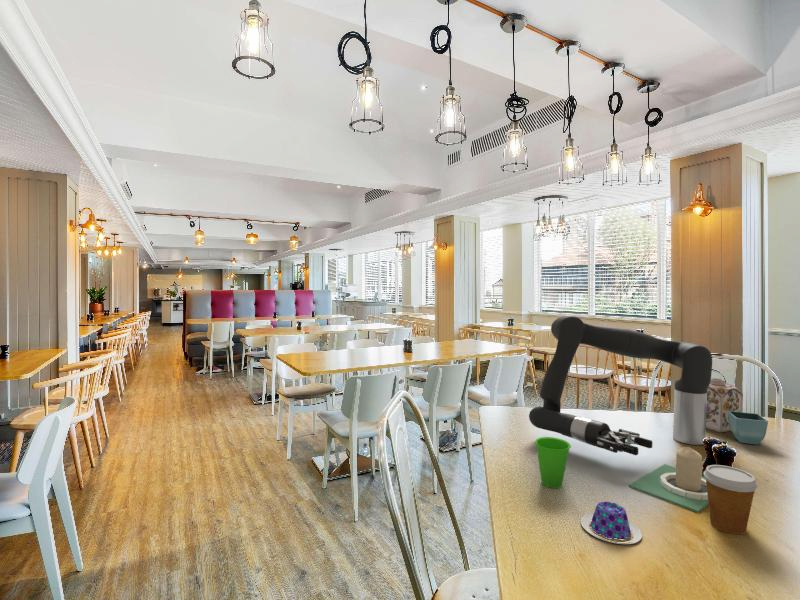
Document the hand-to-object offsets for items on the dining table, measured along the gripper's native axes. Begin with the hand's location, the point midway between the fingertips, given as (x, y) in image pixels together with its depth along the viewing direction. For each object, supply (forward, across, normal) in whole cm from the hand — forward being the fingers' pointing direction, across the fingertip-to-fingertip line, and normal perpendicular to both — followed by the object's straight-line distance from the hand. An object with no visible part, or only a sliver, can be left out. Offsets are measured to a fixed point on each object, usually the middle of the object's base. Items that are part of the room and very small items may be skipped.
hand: (645, 448), depth 121 cm
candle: (+11, 0, +7) cm, 13 cm away
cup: (-12, -26, +8) cm, 30 cm away
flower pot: (+9, +55, +8) cm, 56 cm away
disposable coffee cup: (+23, -12, +8) cm, 27 cm away
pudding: (+8, -34, +8) cm, 36 cm away
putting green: (+9, 0, +8) cm, 12 cm away
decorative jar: (-3, +65, +8) cm, 66 cm away
